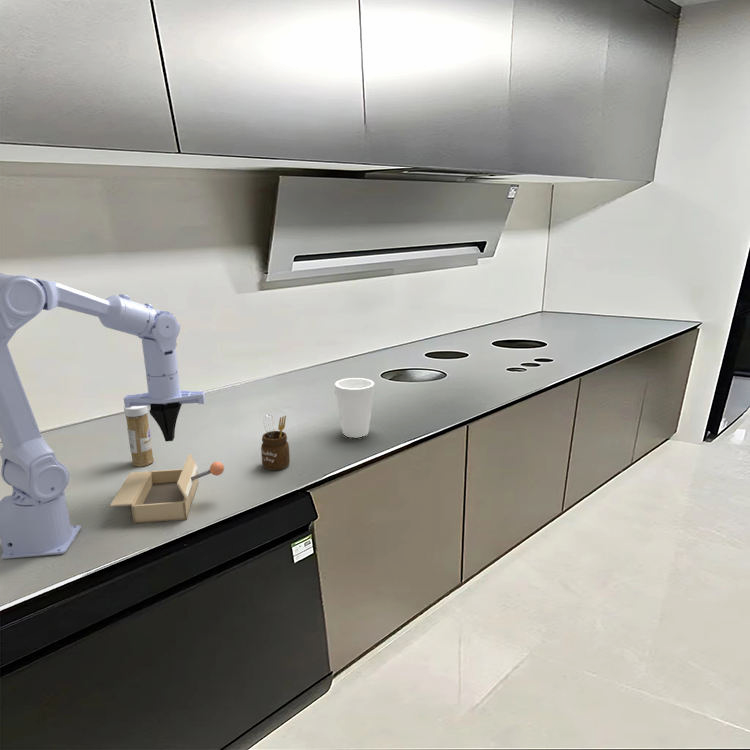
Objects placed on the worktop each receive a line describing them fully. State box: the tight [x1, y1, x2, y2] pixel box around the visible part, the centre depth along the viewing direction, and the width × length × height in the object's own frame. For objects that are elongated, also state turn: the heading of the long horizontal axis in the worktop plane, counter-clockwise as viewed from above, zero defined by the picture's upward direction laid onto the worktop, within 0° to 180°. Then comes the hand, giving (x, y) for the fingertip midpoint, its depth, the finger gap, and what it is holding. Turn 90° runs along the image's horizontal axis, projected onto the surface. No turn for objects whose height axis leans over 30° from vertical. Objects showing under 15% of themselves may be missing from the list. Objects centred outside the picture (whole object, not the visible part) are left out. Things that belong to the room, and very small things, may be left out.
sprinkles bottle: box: [123, 406, 155, 468], centre depth 120 cm, size 5×5×13 cm
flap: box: [177, 453, 225, 499], centre depth 105 cm, size 4×13×7 cm
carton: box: [109, 468, 199, 525], centre depth 104 cm, size 13×14×4 cm
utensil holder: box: [260, 414, 291, 471], centre depth 119 cm, size 6×6×12 cm
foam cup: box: [334, 377, 375, 438], centre depth 136 cm, size 10×9×13 cm
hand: (169, 439), depth 109 cm, fingers closed
